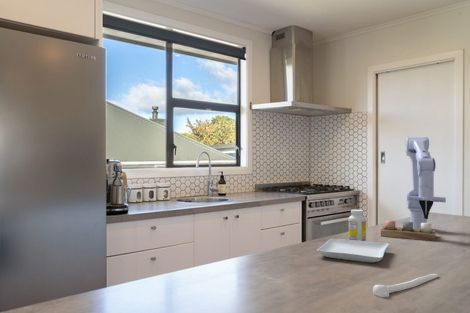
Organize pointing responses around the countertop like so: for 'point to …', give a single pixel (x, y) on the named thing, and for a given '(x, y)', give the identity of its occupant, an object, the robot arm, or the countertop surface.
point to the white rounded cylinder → (426, 227)
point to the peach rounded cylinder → (390, 224)
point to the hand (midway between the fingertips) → (426, 218)
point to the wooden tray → (408, 234)
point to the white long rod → (401, 285)
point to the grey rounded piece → (407, 226)
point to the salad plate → (353, 250)
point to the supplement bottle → (357, 226)
